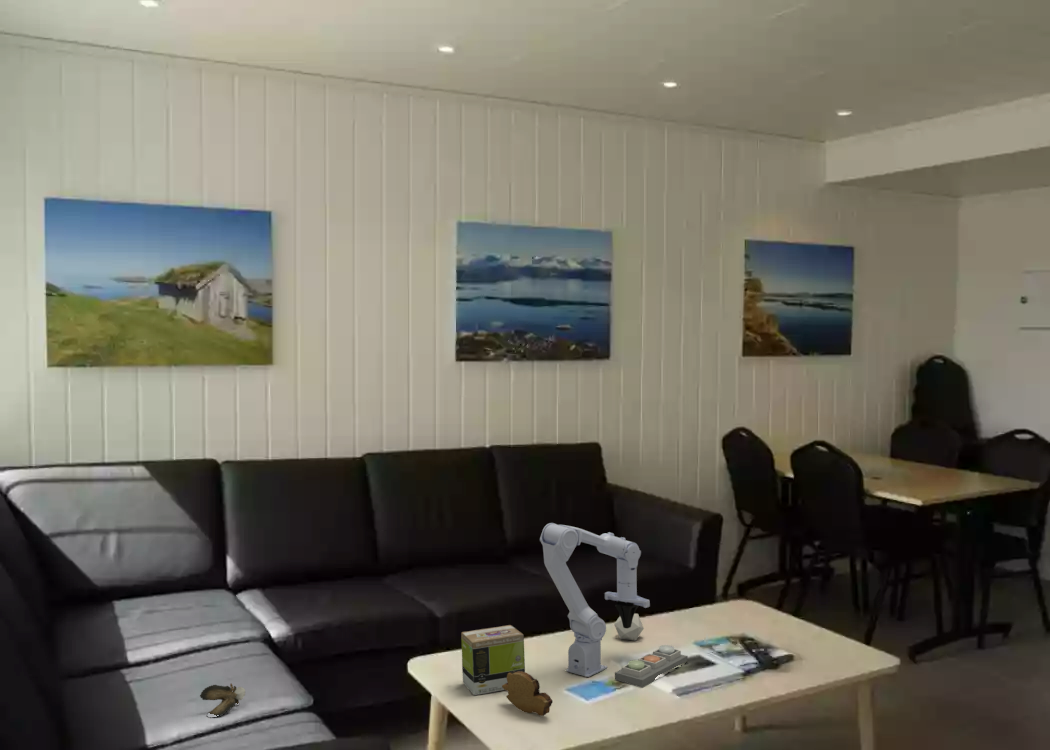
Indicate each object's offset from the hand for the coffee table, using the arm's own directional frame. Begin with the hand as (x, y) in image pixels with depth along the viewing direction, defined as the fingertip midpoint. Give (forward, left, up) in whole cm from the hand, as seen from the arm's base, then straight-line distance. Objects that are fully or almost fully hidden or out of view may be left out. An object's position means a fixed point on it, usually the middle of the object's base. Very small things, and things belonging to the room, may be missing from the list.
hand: (627, 627), depth 271 cm
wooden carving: (-47, -1, -10) cm, 48 cm away
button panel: (-4, -11, -9) cm, 15 cm away
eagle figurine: (-96, +60, -10) cm, 113 cm away
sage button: (-12, -11, -6) cm, 17 cm away
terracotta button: (-4, -11, -7) cm, 14 cm away
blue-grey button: (+4, -11, -6) cm, 13 cm away
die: (+16, +10, -10) cm, 21 cm away
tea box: (-40, +17, -10) cm, 45 cm away
